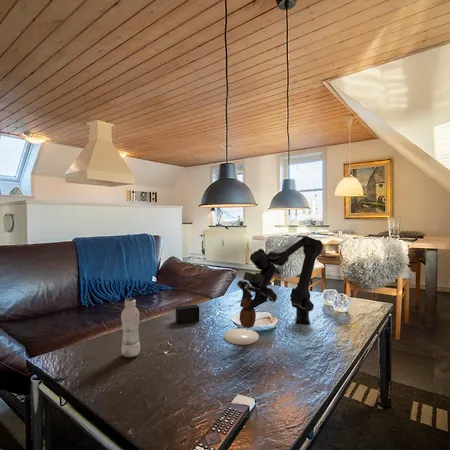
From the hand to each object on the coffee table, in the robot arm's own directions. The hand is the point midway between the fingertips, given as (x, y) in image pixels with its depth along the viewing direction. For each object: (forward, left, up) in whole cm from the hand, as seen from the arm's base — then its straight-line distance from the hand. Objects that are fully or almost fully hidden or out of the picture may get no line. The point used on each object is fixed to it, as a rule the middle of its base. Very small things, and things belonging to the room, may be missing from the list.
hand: (245, 308), depth 116 cm
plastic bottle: (+18, -39, -13) cm, 45 cm away
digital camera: (-17, -29, -14) cm, 36 cm away
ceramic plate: (-4, -2, -13) cm, 14 cm away
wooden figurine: (-1, +1, -8) cm, 8 cm away
